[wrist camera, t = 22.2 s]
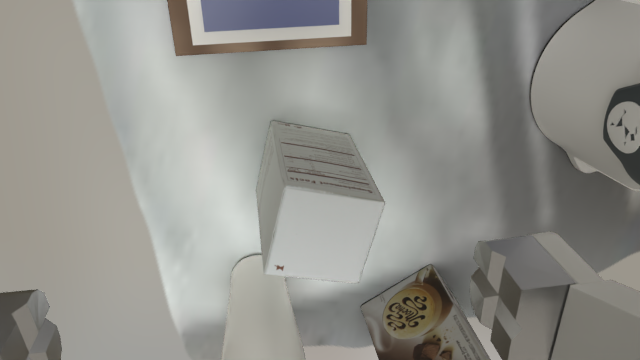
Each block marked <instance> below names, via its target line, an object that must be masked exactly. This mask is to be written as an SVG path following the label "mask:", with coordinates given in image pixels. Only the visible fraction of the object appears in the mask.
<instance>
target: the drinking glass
mask: <svg viewBox="0 0 640 360" xmlns="http://www.w3.org/2000/svg"><path fill="white" fill-rule="evenodd" d="M221 360H305V354H304V349H303V344H302V340H301V337H300V333H299V329H298V326H297V322H296V319H295V315H294V312H293V308H292V304H291V301H290V297H289V293H288V289H287V285H286V280H285V276H277V275H267V274H264V271H263V261H262V255H253V256H249V257H247V258H244V259H243V260H241V261H240V262H239V263H238V264H237V265H236V266H235V267H234V269H233V271H232V273H231V279H230V296H229V303H228V311H227V318H226V325H225V332H224V339H223V347H222V356H221Z"/></svg>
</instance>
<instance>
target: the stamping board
mask: <svg viewBox="0 0 640 360" xmlns="http://www.w3.org/2000/svg"><path fill="white" fill-rule="evenodd" d="M167 1H168V8H169V14H170V21H171V27H172V33H173V40H174V46H175V53H176V56H183V55H199V54H216V53H233V52H249V51H266V50H282V49H299V48H316V47H332V46H349V45H366V40H367V0H351V36H346V37H329V38H311V39H294V40H277V41H260V42H242V43H225V44H208V45H193V42H192V35H191V28H190V21H189V13H188V6H187V0H167Z"/></svg>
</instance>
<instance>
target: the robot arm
mask: <svg viewBox="0 0 640 360" xmlns="http://www.w3.org/2000/svg"><path fill="white" fill-rule="evenodd" d="M531 106H532V111H533V115H534V118H535V121H536V123H537V125H538V127H539V128H540V130H541V131H542V132H543V134H544V135H545V136H546V137H547V138H548V139H550V140H551V141H552V142H554V143H555V144H557V145H559V146H560V147H562V148H563V149H564V150H565V151H566V153H567V155H568V157H569V159H570V161H571V163H572V164H573V166H574V167H575V168H576V169H578V170H580V171H581V172H583V173H592V172H596V171H599V172H601V173H602V174H604V175H606V176H608V177H609V178H611V179H613V180H615V181H617V182H618V183H620V184H622V185H624V186H626V187H627V188H629V189H631V190H634V191H639V192H640V0H595V1H594V2H592V3H591V4H590V5H588V6H587V7H585V8H584V9H583V10H581V11H580V12H578V13H577V14H576V15H574V16H573V17H572V18H571V19H570V20H568V21H567V22H566V23H565V24H564V25H563V26H562V27H561V28H560V29H559V31H558V32H557V33H556V34H555V35H554V37H553V38H552V39H551V41H550V42H549V43H548V45H547V47H546V48H545V50H544V52H543V54H542V56H541V58H540V60H539V62H538V64H537V67H536V70H535V73H534V77H533V81H532V87H531ZM473 259H474V260H475V262H476V263H477V265H478V266H479V268H478V269H477V270H476V271H475V272H474V274H473V275H472V276H471V280H470V297H471V304H472V307H473V310H474V312H475V315H476V316H477V318H478V320H479V322H480V323H481V324H483V325H484V326H486V327H488V328H489V329H491V330H492V333H491V342H492V344H493V345H494V347H495V349H496V350H497V352H498V353H499V355H500V357H501V359H502V360H640V291H637V290H635V289H632V288H630V287H628V286H625V285H623V284H620V283H618V282H616V281H613V280H607V281H604V280H603V279H602V278H601V277H600V276H599V275H598V274H597V273H596V272H595V271H594V270H593V269H592V268H591V267H590V266H589V265H588V264H587V263H586V262H585V261H584V260H583V259H582V258H581V257H580V256H579V255H578V254H577V253H576V252H575V251H574V250H573V249H572V248H571V247H570V246H569V245H568V244H567V243H566V242H565V241H564V240H563V239H562V238H561V237H560V236H559V235H558V234H556V233H554V232H551V231H550V232H543V233H536V234H529V235H526V236H520V237H511V238H502V239H494V240H485V241H478V243H477V245H476V247H475V252H474V258H473ZM49 307H50V306H49V303H48V301H47V298H46V296H45V294H44V292H42V291H40V290H38V289H36V290H26V291H15V292H3V293H0V360H61V351H62V347H61V339H60V335H59V331H58V328H57V326H56V325H55V324H53V323H52V322H50V321H49V320H47V319H46V318H45V317H46V315H47V312H48V310H49Z"/></svg>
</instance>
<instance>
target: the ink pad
mask: <svg viewBox="0 0 640 360" xmlns="http://www.w3.org/2000/svg"><path fill="white" fill-rule="evenodd" d="M187 6H188V13H189V21H190V28H191V35H192V42H193V45H208V44H225V43H242V42H260V41H277V40H294V39H311V38H329V37H346V36H351V0H187Z"/></svg>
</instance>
